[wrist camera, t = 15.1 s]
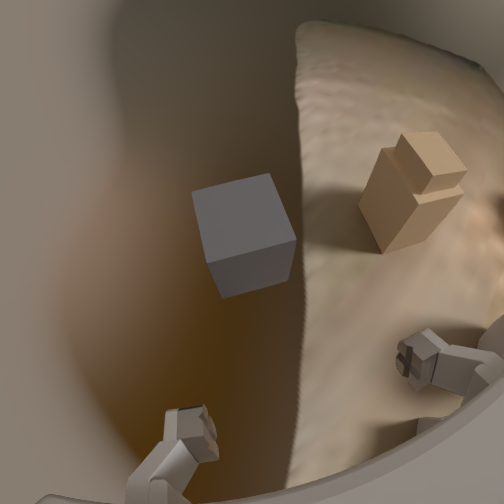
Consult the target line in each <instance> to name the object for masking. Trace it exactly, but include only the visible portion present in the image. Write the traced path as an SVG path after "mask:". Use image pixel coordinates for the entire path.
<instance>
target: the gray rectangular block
mask: <svg viewBox="0 0 504 504" xmlns="http://www.w3.org/2000/svg"><path fill="white" fill-rule="evenodd" d="M192 197H193V202H194V207H195V212H196V217H197V222H198V226H199V231H200V236H201V241H202V245H203V250H204V254H205V258H206V263H207V265H208V268H209V270H210V272H211V275H212V277H213V280H214V282H215V284H216V286H217V289H218V291H219V293H220V296H221V298H222V299H223V298H227V297H231V296H235V295H238V294H242V293H246V292H249V291H253V290H257V289H260V288H264V287H268V286H271V285H275V284H278V283H282V282H285V281H288V278H289V274H290V269H291V265H292V260H293V255H294V251H295V246H296V242H297V239H296V236H295V233H294V231H293V228H292V226H291V224H290V221H289V219H288V216H287V214H286V212H285V209H284V207H283V204H282V202H281V199H280V197H279V195H278V192H277V190H276V188H275V185H274V183H273V181H272V178H271V176H270V174H269V173H268V174H264V175H259V176H255V177H250V178H246V179H241V180H237V181H233V182H228V183H224V184H220V185H216V186H213V187H209V188H205V189H201V190H197V191H193V192H192Z"/></svg>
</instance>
